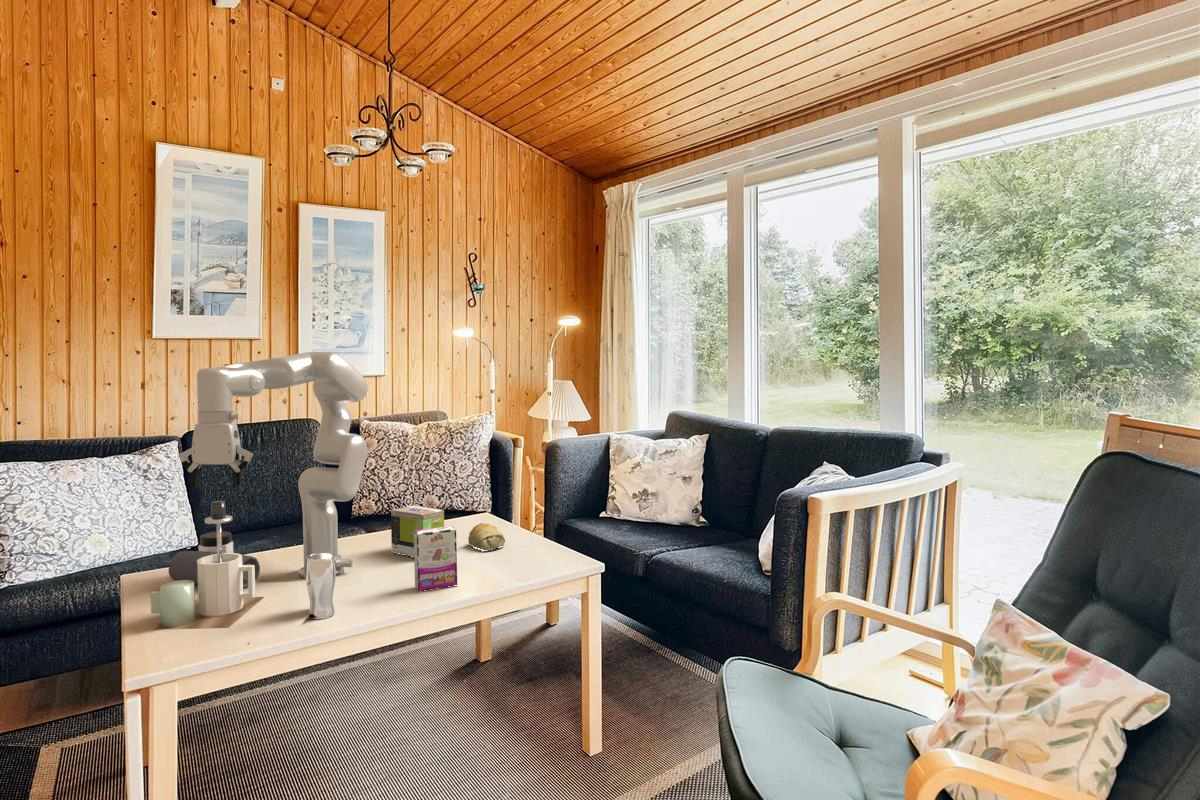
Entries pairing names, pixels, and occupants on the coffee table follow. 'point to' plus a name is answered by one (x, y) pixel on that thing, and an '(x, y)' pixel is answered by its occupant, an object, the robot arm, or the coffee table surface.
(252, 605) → the serving board
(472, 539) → the pastry
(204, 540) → the jar
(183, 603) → the sage mug
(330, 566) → the beer glass
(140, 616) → the coffee table surface
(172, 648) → the coffee table surface
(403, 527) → the tea box
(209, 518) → the plunger
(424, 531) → the candy bar box
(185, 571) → the bluetooth speaker
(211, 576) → the press carafe
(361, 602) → the coffee table surface
